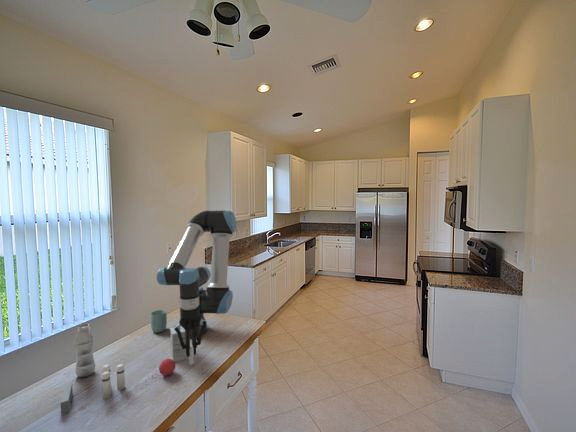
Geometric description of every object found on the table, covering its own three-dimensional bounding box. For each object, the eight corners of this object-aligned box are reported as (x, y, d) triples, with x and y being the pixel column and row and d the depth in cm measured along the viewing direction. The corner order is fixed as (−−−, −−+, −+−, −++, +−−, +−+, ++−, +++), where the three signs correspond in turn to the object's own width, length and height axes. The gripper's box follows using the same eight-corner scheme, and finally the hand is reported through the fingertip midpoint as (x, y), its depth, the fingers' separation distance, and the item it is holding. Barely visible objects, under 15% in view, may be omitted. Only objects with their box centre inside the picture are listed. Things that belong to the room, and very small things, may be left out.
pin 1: (111, 385, 108) (110, 363, 108) (110, 389, 106) (109, 366, 106) (103, 387, 107) (102, 365, 106) (103, 391, 105) (102, 368, 104)
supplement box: (170, 354, 130) (169, 327, 129) (188, 350, 133) (187, 323, 132) (172, 362, 123) (171, 334, 122) (190, 358, 126) (189, 330, 126)
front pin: (124, 385, 108) (124, 363, 108) (125, 388, 106) (124, 366, 106) (117, 387, 107) (116, 365, 107) (117, 391, 105) (116, 368, 105)
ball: (174, 368, 119) (173, 354, 119) (176, 375, 114) (176, 361, 114) (158, 372, 116) (157, 358, 116) (160, 380, 111) (159, 365, 110)
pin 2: (110, 393, 104) (109, 370, 103) (110, 397, 102) (109, 373, 101) (102, 395, 103) (101, 372, 102) (102, 399, 101) (101, 376, 100)
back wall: (72, 394, 103) (72, 383, 103) (68, 412, 95) (68, 400, 95) (65, 396, 102) (65, 385, 102) (61, 414, 94) (60, 402, 94)
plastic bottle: (85, 380, 111) (83, 330, 110) (71, 378, 113) (68, 328, 111) (99, 370, 118) (97, 322, 116) (85, 368, 119) (83, 321, 118)
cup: (169, 330, 153) (169, 312, 152) (154, 335, 147) (154, 316, 147) (163, 326, 158) (162, 308, 158) (148, 331, 152) (147, 312, 152)
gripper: (174, 313, 112) (176, 372, 113) (208, 306, 118) (209, 362, 120) (171, 307, 118) (173, 363, 119) (203, 301, 125) (204, 354, 126)
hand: (191, 362), depth 119 cm, fingers closed
